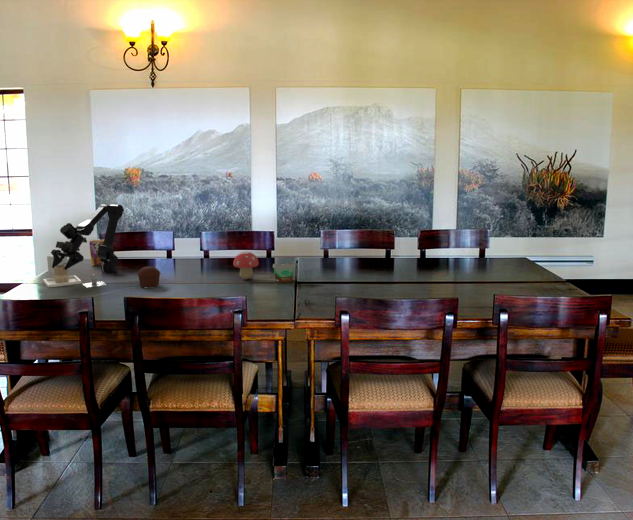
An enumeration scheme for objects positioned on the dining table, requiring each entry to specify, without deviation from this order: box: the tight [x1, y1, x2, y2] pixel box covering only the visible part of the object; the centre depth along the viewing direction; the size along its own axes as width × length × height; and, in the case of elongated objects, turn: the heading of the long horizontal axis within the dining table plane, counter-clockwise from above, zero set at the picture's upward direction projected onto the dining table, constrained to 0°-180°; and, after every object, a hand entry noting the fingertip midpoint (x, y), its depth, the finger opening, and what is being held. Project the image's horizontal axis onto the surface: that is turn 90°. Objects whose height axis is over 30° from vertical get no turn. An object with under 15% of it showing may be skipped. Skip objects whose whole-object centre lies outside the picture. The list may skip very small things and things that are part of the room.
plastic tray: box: [42, 274, 83, 288], centre depth 300 cm, size 16×16×2 cm
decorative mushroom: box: [233, 251, 260, 280], centre depth 307 cm, size 13×13×15 cm
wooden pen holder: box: [54, 265, 69, 283], centre depth 300 cm, size 6×6×8 cm
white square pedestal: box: [82, 273, 107, 288], centre depth 296 cm, size 10×10×6 cm
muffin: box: [136, 266, 161, 288], centre depth 293 cm, size 12×11×10 cm
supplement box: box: [46, 254, 68, 278], centre depth 313 cm, size 7×7×13 cm
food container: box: [272, 261, 296, 284], centre depth 300 cm, size 12×6×10 cm, turn 117°
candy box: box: [89, 239, 104, 267], centre depth 348 cm, size 9×4×15 cm, turn 105°
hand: (58, 268), depth 298 cm, fingers open, 9 cm apart
